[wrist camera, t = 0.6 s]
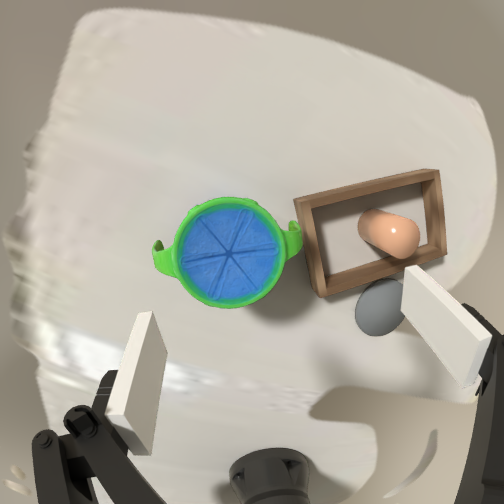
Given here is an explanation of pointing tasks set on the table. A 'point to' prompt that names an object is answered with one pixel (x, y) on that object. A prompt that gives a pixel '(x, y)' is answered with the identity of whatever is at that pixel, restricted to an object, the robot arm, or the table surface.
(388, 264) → the tray
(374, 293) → the slate coaster
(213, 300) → the snack cup
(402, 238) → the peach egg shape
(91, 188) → the table surface
